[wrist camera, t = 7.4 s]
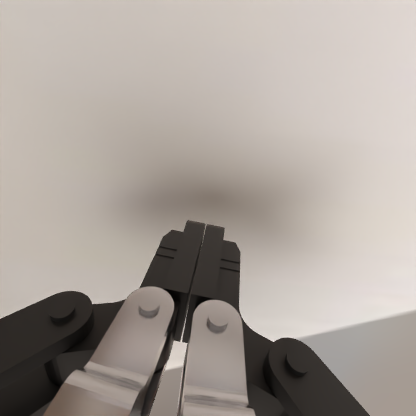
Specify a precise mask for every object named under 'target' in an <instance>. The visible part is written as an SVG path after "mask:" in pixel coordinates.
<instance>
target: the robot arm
mask: <svg viewBox="0 0 416 416" xmlns="http://www.w3.org/2000/svg"><path fill="white" fill-rule="evenodd" d="M224 229H225V228H224V227H219V226H214V225H209V224H207V226H206V230H205V224H204V223H199V222H194V221H189V220H188V221H187V223H186V226H185V229H184V232H180V231H175V230H171V231H170V232H169V233H167V234H166V235H165V236H164V237H163V238H162V241H161V243H160V245H159V248H158V249H157V252H156V254H155V256H154V258H153V260H152V262H151V265H150V267H149V269H148V271H147V273H146V276H145V278H144V280H143V282H142V284H141V286H140V288H139V289H137V290H135V291H134V292H132V293H131V294H130V295H129V296H128V297H127V299H125V300H122V301H119V302H114V303H104V304H92V302H91V300H90V299H89V297H88V296H86V295H85V294H83V293H81V292H76V291H66V292H61V293H57V294H55V295H52V296H50V297H48V298H46V299H44V300H41V301H39V302H37V303H35V304H32V305H30V306H28V307H26V308H24V309H21V310H19V311H17V312H15V313H12V314H10V315H8V316H6V317H4V318H1V319H0V416H149V415H150V412H151V409H152V406H153V403H154V400H155V397H156V394H157V391H158V388H159V385H160V382H161V379H162V376H163V373H164V370H165V367H166V364H167V361H168V359H169V356H170V353H171V349H172V345H173V341H174V340H175V341H180V340H181V336H182V331H183V327H184V323H185V318H186V323H185V329H184V334H183V340H182V342H185V343H188V344H187V349H186V354H185V360H184V365H183V370H182V378H181V386H180V394H179V401H178V409H177V416H370V415H369V414H368V413H367V412H366V411H365V409H364V408H363V407H362V406H361V405H360V404H359V403H358V401H356V399H355V398H354V397H353V396H352V395H351V394H350V392H348V390H347V389H346V388H345V387H344V386H343V384H342V383H341V382H340V381H339V380H338V379H337V378H336V376H335V375H334V374H333V373H332V372H331V371H330V370H329V369H328V367H327V366H326V365H325V364H324V363H323V362H322V361H321V359H320V358H319V357H318V356H317V355H316V354H315V353H314V351H312V350H311V348H309V347H308V346H307V345H305V344H304V343H303V342H301V341H299V340H296V339H293V338H280V339H278V340H276V341H275V342H272V341H270V340H268V339H267V338H265V337H263V336H261V335H259V334H257V333H256V332H254V331H253V330H252V329H250V328H249V327H248V326H247V325H246V323H245V322H244V320H243V319H242V317H241V315H240V311H239V284H240V251H239V249H238V247H237V245H236V243H234V242H229V241H225V240H223V237H224ZM204 230H205V235H204ZM203 235H204V239H203ZM202 241H203V243H202ZM201 246H202V247H201ZM188 305H189V306H188ZM187 310H188V312H187ZM186 314H187V317H186Z"/></svg>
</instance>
